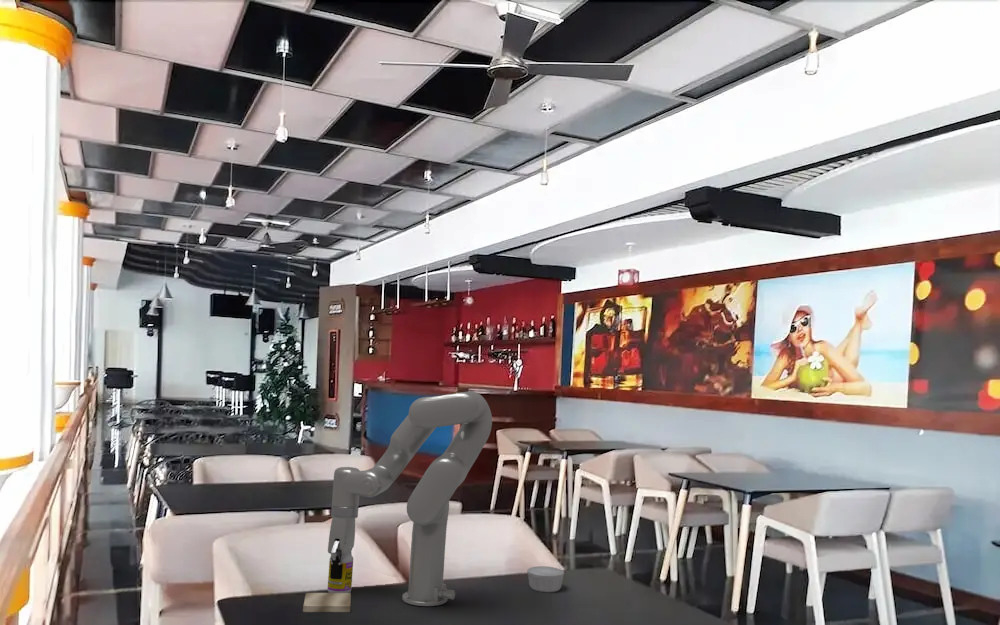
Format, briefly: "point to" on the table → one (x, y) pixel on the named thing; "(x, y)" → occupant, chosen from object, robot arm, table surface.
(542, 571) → the ramekin
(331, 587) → the supplement bottle
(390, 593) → the table surface
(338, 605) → the birch board
